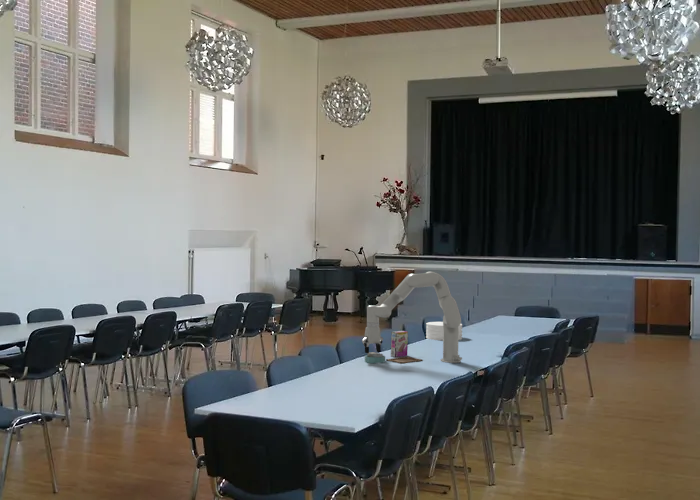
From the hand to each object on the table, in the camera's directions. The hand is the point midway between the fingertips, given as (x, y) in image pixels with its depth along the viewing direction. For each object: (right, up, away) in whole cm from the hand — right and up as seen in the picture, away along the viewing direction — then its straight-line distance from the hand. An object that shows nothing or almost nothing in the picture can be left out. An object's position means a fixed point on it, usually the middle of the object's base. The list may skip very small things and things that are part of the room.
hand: (372, 352), depth 472 cm
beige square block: (0, -5, 0) cm, 5 cm away
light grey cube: (+3, -5, -4) cm, 7 cm away
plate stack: (+59, -5, +116) cm, 130 cm away
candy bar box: (+18, -6, +20) cm, 28 cm away
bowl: (+1, -6, -2) cm, 6 cm away
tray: (+20, -6, +1) cm, 21 cm away
